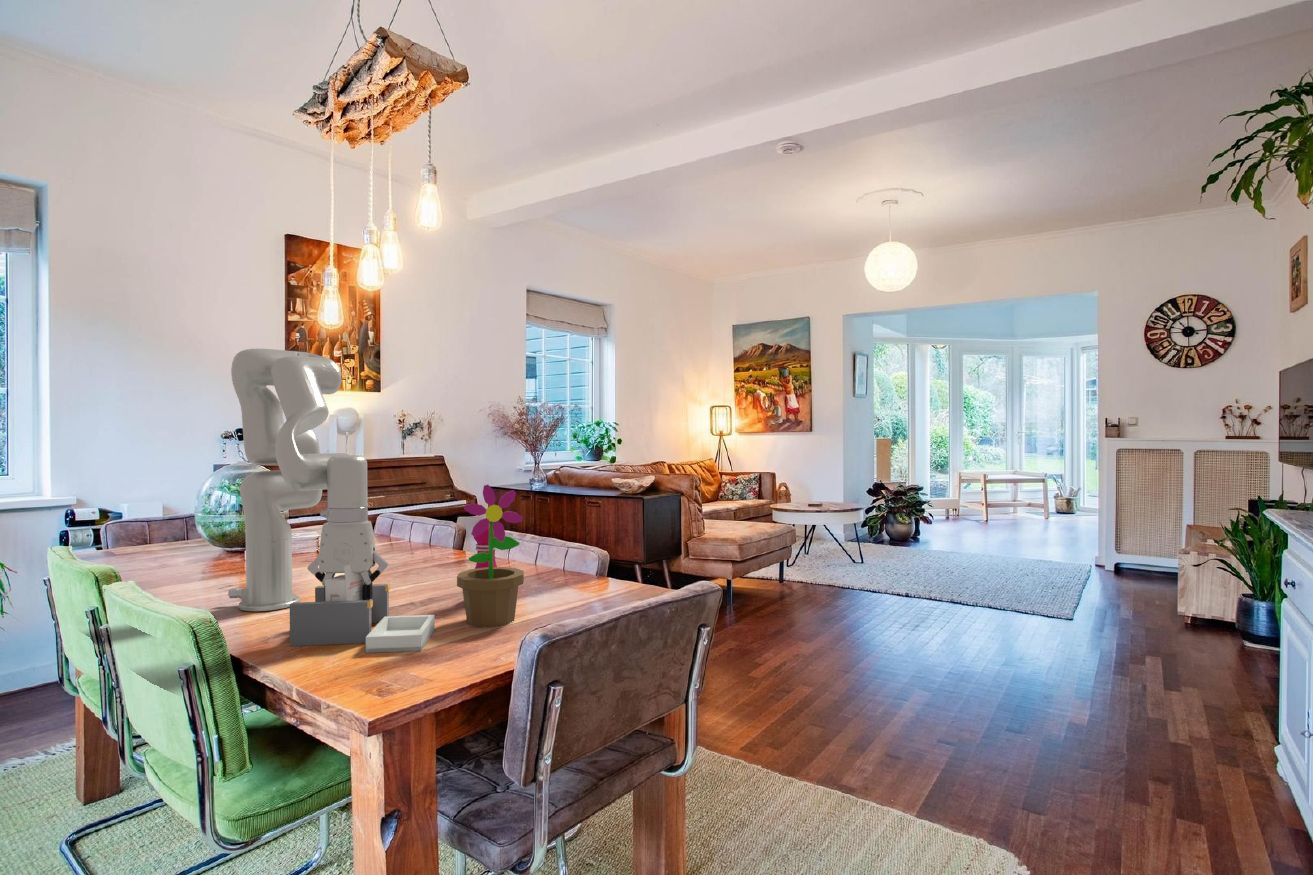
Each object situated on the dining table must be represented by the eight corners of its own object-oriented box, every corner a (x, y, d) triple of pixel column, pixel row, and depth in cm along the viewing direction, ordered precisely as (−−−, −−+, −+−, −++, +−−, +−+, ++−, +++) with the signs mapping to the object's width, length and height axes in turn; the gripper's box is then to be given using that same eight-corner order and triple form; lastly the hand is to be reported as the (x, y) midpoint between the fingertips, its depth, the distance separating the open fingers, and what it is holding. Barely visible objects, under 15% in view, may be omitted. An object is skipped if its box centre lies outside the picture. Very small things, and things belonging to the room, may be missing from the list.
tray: (365, 652, 131) (365, 637, 131) (384, 630, 145) (384, 616, 145) (421, 650, 132) (421, 634, 132) (434, 629, 146) (434, 614, 146)
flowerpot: (462, 633, 143) (461, 486, 143) (452, 615, 156) (451, 481, 156) (531, 625, 149) (530, 484, 148) (516, 608, 162) (516, 479, 161)
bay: (290, 646, 135) (289, 604, 135) (318, 623, 151) (317, 585, 150) (370, 642, 137) (370, 602, 137) (390, 620, 153) (390, 583, 152)
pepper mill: (507, 597, 172) (507, 516, 172) (486, 604, 166) (485, 520, 166) (486, 594, 176) (486, 514, 176) (464, 600, 170) (464, 517, 170)
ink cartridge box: (351, 625, 149) (350, 556, 148) (372, 627, 148) (371, 557, 147) (324, 637, 140) (323, 564, 140) (346, 639, 139) (345, 565, 139)
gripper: (296, 519, 139) (297, 609, 139) (387, 517, 141) (388, 606, 141) (309, 514, 146) (310, 600, 146) (396, 512, 148) (397, 597, 149)
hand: (348, 602), depth 144 cm, fingers closed on ink cartridge box, 6 cm apart
